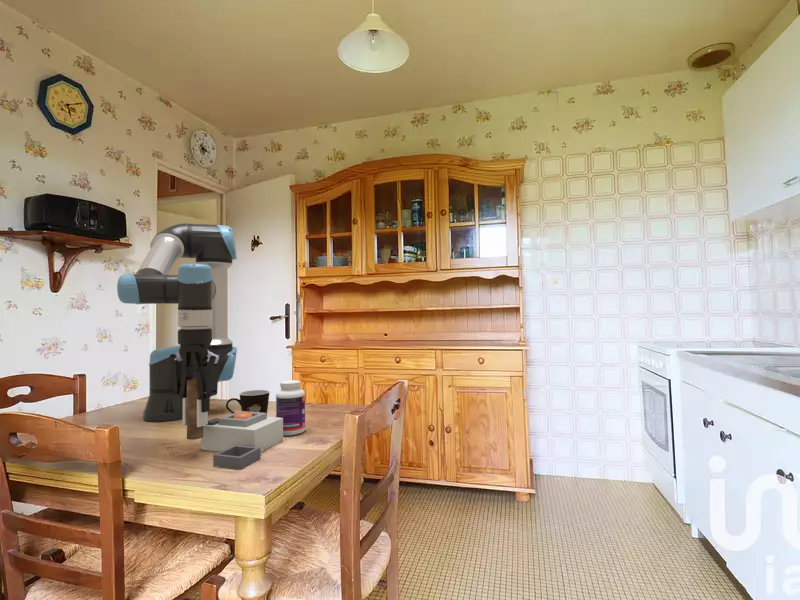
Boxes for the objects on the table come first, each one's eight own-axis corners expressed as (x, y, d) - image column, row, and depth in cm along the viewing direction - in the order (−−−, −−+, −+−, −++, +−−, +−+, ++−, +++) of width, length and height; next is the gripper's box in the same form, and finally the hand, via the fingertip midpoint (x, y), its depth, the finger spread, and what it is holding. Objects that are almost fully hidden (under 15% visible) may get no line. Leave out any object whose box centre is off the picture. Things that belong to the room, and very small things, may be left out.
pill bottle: (308, 434, 117) (308, 382, 117) (279, 438, 113) (278, 385, 114) (301, 427, 124) (301, 378, 125) (273, 430, 121) (273, 380, 121)
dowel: (183, 438, 100) (183, 380, 100) (194, 434, 103) (194, 377, 103) (195, 440, 99) (195, 381, 99) (206, 435, 102) (206, 378, 102)
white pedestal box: (200, 449, 105) (200, 419, 105) (233, 435, 116) (233, 408, 117) (254, 455, 100) (254, 423, 100) (283, 440, 112) (282, 412, 112)
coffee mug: (274, 422, 130) (274, 390, 130) (262, 430, 122) (262, 395, 122) (238, 421, 131) (238, 389, 132) (224, 429, 123) (224, 395, 123)
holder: (213, 466, 93) (213, 455, 93) (234, 455, 100) (234, 445, 100) (240, 469, 91) (240, 458, 91) (260, 458, 98) (260, 447, 98)
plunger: (230, 427, 107) (230, 415, 107) (241, 422, 111) (241, 411, 111) (244, 428, 106) (244, 416, 106) (255, 423, 110) (255, 412, 110)
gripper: (155, 328, 100) (155, 426, 100) (211, 329, 95) (212, 432, 95) (180, 326, 107) (180, 417, 107) (234, 327, 102) (234, 423, 102)
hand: (195, 424), depth 101 cm, fingers closed on dowel, 3 cm apart
